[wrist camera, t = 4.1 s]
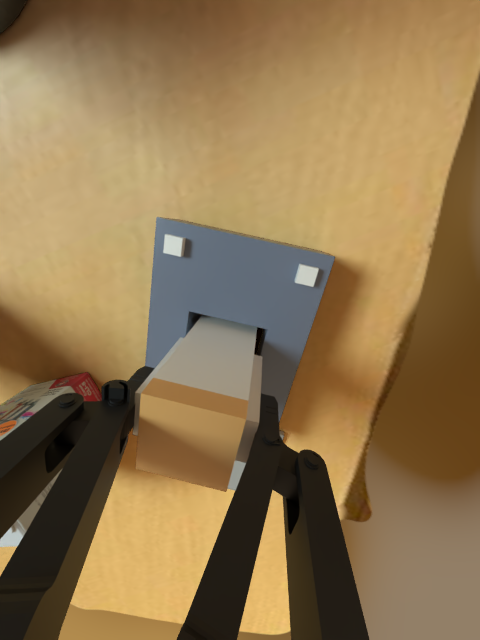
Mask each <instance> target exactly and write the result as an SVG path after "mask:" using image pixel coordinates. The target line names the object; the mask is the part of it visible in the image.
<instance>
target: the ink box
mask: <svg viewBox="0 0 480 640" xmlns="http://www.w3.org/2000/svg"><path fill="white" fill-rule="evenodd" d="M65 393H78V394H81V395H82V396H83V398H84V401H102V395H101V393H100V391H99V390H98V388H97V386H96V384H95V383H94V381H93V380H92V378H91V377H90V375H89V373H88V372H86V373H81V374H77V375H73V376H69V377H65V378H60V379H56V380H52V381H48V382H43V383H39V384H35V385H31V386H29V387H27V388H26V389H24V390H23V391H21V392H20V393H18V394H16V395H15V396H13V397H12V398H10V399H9V400H7V401H6V402H4V403H2V404H1V405H0V440H2V439H3V438H4V437H6V436H7V435H8V434H9V433H11V432H12V431H13V430H14V429H16V428H17V427H18V426H20V425H21V424H22V423H23V422H25V421H26V420H27V419H29V418H30V417H31V416H32V415H34V414H35V413H36V412H38V411H39V410H40V409H41V408H43V407H44V406H45V405H47V404H48V403H49V402H50V401H52V400H53V399H54V398H56V397H58V396H59V395H62V394H65ZM61 470H62V469H61ZM61 470H60V472H61ZM60 472H59V473H58V474H57V475H56V476H55V477H54V478H53V480H52V481H51V482H50V483H49V484H48V485H47V486H46V488H45V489H44V490H43V491H42V492H41V493H40V494H39V496H38V497H37V498H36V499H35V500H34V501H33V502H32V504H31V505H30V506H29V507H28V508H27V509H26V511H25V512H24V513H23V514H22V515H21V516H20V517H19V519H18V520H17V521H16V522H15V523H14V524H13V525H12V527H11V528H10V529H9V530H8V531H7V532H6V533H5V535H4V536H3V537H2V538H1V539H0V547H8V546H18V545H19V543H20V541H21V540H22V538H23V536H24V534H25V533H26V531H27V529H28V527H29V526H30V524H31V522H32V521H33V519H34V517H35V515H36V514H37V512H38V510H39V508H40V507H41V505H42V503H43V501H44V500H45V498H46V496H47V494H48V493H49V491H50V489H51V488H52V486H53V484H54V482H55V481H56V479H57V477H58V475H59V474H60Z"/></svg>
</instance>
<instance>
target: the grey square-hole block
mask: <svg viewBox="0 0 480 640" xmlns="http://www.w3.org/2000/svg"><path fill="white" fill-rule="evenodd" d="M334 259H335V257H334V256H332V255H330V254H327V253H325V252H322V251H318V250H314V249H309V248H305V247H300V246H296V245H291V244H287V243H282V242H278V241H273V240H269V239H264V238H260V237H255V236H251V235H246V234H242V233H237V232H233V231H228V230H224V229H219V228H215V227H210V226H206V225H201V224H197V223H192V222H188V221H183V220H178V219H169V218H161V217H157V219H156V232H155V245H154V258H153V271H152V284H151V297H150V310H149V324H148V337H147V350H146V363H145V366H148V367H152V368H156V366H157V365H158V364H159V363H160V362H161V360H162V359H163V358H164V357H165V356H166V354H167V353H168V352H169V351H170V349H171V348H172V347H173V346H174V345H175V343H176V342H177V341H178V340H179V338H180V337H182V338H185V336H186V335H187V334H188V332H189V331H190V330H191V329H192V327H193V326H194V325H195V324H196V322H197V321H198V320H199V318H200V317H201V314H203V315H208V316H212V317H216V318H220V319H225V320H229V321H233V322H237V323H242V324H246V325H250V326H255V327H259V328H263V331H262V335H261V339H260V343H259V346H258V350H257V354H256V355H258V356H262V377H261V393H262V394H266V395H270V396H274V397H275V399H276V400H277V402H278V415H279V422H280V419H281V416H282V413H283V410H284V407H285V404H286V401H287V398H288V395H289V392H290V389H291V386H292V383H293V380H294V377H295V374H296V371H297V368H298V365H299V363H300V360H301V357H302V354H303V351H304V348H305V345H306V342H307V339H308V336H309V333H310V330H311V327H312V324H313V321H314V318H315V315H316V312H317V309H318V306H319V303H320V300H321V298H322V295H323V292H324V289H325V286H326V283H327V280H328V277H329V274H330V271H331V268H332V265H333V262H334Z"/></svg>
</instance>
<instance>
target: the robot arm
mask: <svg viewBox="0 0 480 640" xmlns="http://www.w3.org/2000/svg"><path fill="white" fill-rule="evenodd" d="M26 1H27V0H0V33H1V32H3V31H4V30H5V29H6V28H7V27H8V26H10V25H11V23H12V22H13V21H14V20H15V19H16V17H17V16H18V15H19V13H20V12H21V10H22V8H23V7H24V5H25V3H26ZM183 339H184V338H182V337H180V338H179V340H178V341H177V342H176V343H175V345H174V346H173V347H172V348H171V349H170V351H169V352H168V353H167V354H166V356H165V357H164V358H163V359H162V360H161V362H160V363H159V364H158V365H157V366H156V368H152V367H148V366H144V367H142V368H140V369H138V370H137V371H136V373H135V374H134V375H133V376H132V377H131V378H130V380H128V381H127V382H126V381H123V380H113V381H109V382H107V383H105V384H104V385H103V386H102V401H84V398H83V396H82V395H81V394H78V393H65V394H62V395H59V396H58V397H56V398H54V399H53V400H52V401H50V402H49V403H48V404H47V405H45V406H44V407H43V408H41V409H40V410H39V411H38V412H36V413H35V414H34V415H32V416H31V417H30V418H29V419H27V420H26V421H25V422H23V423H22V424H21V425H20V426H18V427H17V428H16V429H14V430H13V431H12V432H11V433H9V434H8V435H7V436H6V437H4V438H3V439H2V440H0V539H1V538H2V537H3V536H4V535H5V533H6V532H7V531H8V530H9V529H10V528H11V527H12V525H13V524H14V523H15V522H16V521H17V520H18V519H19V517H20V516H21V515H22V514H23V513H24V512H25V511H26V509H27V508H28V507H29V506H30V505H31V504H32V502H33V501H34V500H35V499H36V498H37V497H38V496H39V494H40V493H41V492H42V491H43V490H44V489H45V488H46V486H47V485H48V484H49V483H50V482H51V481H52V480H53V478H54V477H55V476H56V475H57V474H58V473H59V472H60V470H61V469H62V470H61V472H60V474H59V475H58V477H57V479H56V481H55V482H54V484H53V486H52V488H51V489H50V491H49V493H48V494H47V496H46V498H45V500H44V501H43V503H42V505H41V507H40V508H39V510H38V512H37V514H36V515H35V517H34V519H33V521H32V522H31V524H30V526H29V527H28V529H27V531H26V533H25V534H24V536H23V538H22V540H21V541H20V543H19V545H18V547H17V548H16V550H15V552H14V554H13V555H12V557H11V559H10V561H9V562H8V564H7V566H6V567H5V569H4V571H3V573H2V574H1V576H0V640H58V638H59V634H60V630H61V627H62V624H63V621H64V619H65V616H66V613H67V610H68V607H69V604H70V602H71V599H72V596H73V593H74V591H75V588H76V585H77V582H78V579H79V576H80V574H81V571H82V568H83V565H84V562H85V560H86V557H87V554H88V551H89V548H90V546H91V543H92V540H93V537H94V534H95V531H96V529H97V526H98V523H99V520H100V517H101V515H102V512H103V509H104V506H105V503H106V500H107V498H108V495H109V492H110V489H111V486H112V484H113V481H114V478H115V475H116V472H117V470H118V467H119V464H120V461H121V458H122V455H123V453H124V450H125V447H126V444H127V441H128V434H129V432H130V431H131V429H132V428H133V435H136V436H138V427H139V413H140V399H141V393H142V391H143V390H144V389H145V388H146V386H147V385H148V384H149V382H150V381H151V380H152V379H153V377H154V376H155V375H156V373H157V372H158V371H159V370H160V368H161V367H162V366H163V364H164V363H165V362H166V361H167V359H168V358H169V357H170V356H171V354H172V353H173V352H174V350H175V349H176V348H177V347H178V345H179V344H180V343H181V341H182V340H183ZM261 377H262V356H258V355H254V359H253V367H252V375H251V384H250V392H249V401H248V409H247V418H246V422H245V426H244V430H243V433H242V437H241V440H240V444H239V448H238V451H237V455H236V459H235V460H236V461H240V462H244V463H246V465H245V467H244V470H243V472H242V475H241V478H240V480H239V483H238V485H237V488H236V491H235V493H234V496H233V498H232V501H231V503H230V506H229V509H228V511H227V514H226V516H225V519H224V522H223V524H222V527H221V529H220V532H219V535H218V537H217V540H216V542H215V545H214V548H213V550H212V553H211V555H210V558H209V561H208V563H207V566H206V568H205V571H204V574H203V576H202V579H201V581H200V584H199V586H198V589H197V592H196V594H195V597H194V599H193V602H192V605H191V607H190V610H189V612H188V615H187V617H186V620H185V622H184V624H183V626H182V628H181V631H180V633H179V635H178V637H177V640H237V637H238V632H239V628H240V624H241V620H242V616H243V611H244V607H245V603H246V599H247V594H248V590H249V586H250V582H251V578H252V573H253V569H254V565H255V561H256V557H257V552H258V548H259V544H260V540H261V535H262V531H263V527H264V523H265V519H266V514H267V510H268V506H269V502H270V498H271V493H272V489H273V490H274V491H276V492H277V493H279V494H281V495H282V496H283V507H284V524H285V541H286V558H287V575H288V593H289V610H290V627H291V640H369V636H368V632H367V628H366V624H365V620H364V616H363V612H362V608H361V604H360V600H359V596H358V592H357V588H356V584H355V580H354V576H353V572H352V568H351V564H350V560H349V556H348V552H347V548H346V544H345V540H344V536H343V532H342V528H341V524H340V519H339V515H338V511H337V507H336V503H335V499H334V495H333V491H332V487H331V483H330V479H329V475H328V471H327V467H326V464H325V462H324V460H323V459H322V458H321V456H320V455H318V454H317V453H316V452H314V451H311V450H302V451H300V453H298V452H296V451H294V450H292V449H290V448H289V447H287V446H286V445H285V444H284V443H283V440H282V438H281V436H280V433H279V415H278V402H277V400H276V399H275V397H274V396H270V395H266V394H262V393H261Z"/></svg>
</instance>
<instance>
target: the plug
mask: <svg viewBox="0 0 480 640" xmlns="http://www.w3.org/2000/svg"><path fill="white" fill-rule="evenodd" d="M256 333H257V327H255V326H250V325H246V324H242V323H237V322H233V321H229V320H225V319H220V318H216V317H212V316H208V315H202V316H201V317H200V318H199V320H198V321H197V322H196V324H195V325H194V326H193V327H192V329H191V330H190V331H189V332H188V334H187V335H186V336H185V338H184V339H183V340H182V341H181V343H180V344H179V345H178V347H177V348H176V349H175V350H174V352H173V353H172V354H171V356H170V357H169V358H168V359H167V361H166V362H165V363H164V364H163V366H162V367H161V368H160V370H159V371H158V372H157V373H156V375H155V376H154V377H153V379H152V380H151V381H150V382H149V384H148V385H147V386H146V388H145V389H144V390H143V391H142V393H141V399H140V413H139V427H138V441H137V455H136V469H139V470H143V471H146V472H150V473H154V474H158V475H162V476H166V477H170V478H174V479H178V480H182V481H186V482H189V483H193V484H197V485H201V486H205V487H209V488H213V489H217V490H221V491H225V492H226V491H227V488H228V484H229V481H230V477H231V473H232V470H233V466H234V462H235V459H236V455H237V451H238V448H239V444H240V440H241V437H242V433H243V430H244V426H245V422H246V418H247V409H248V401H249V392H250V384H251V375H252V367H253V359H254V350H255V342H256Z"/></svg>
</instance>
